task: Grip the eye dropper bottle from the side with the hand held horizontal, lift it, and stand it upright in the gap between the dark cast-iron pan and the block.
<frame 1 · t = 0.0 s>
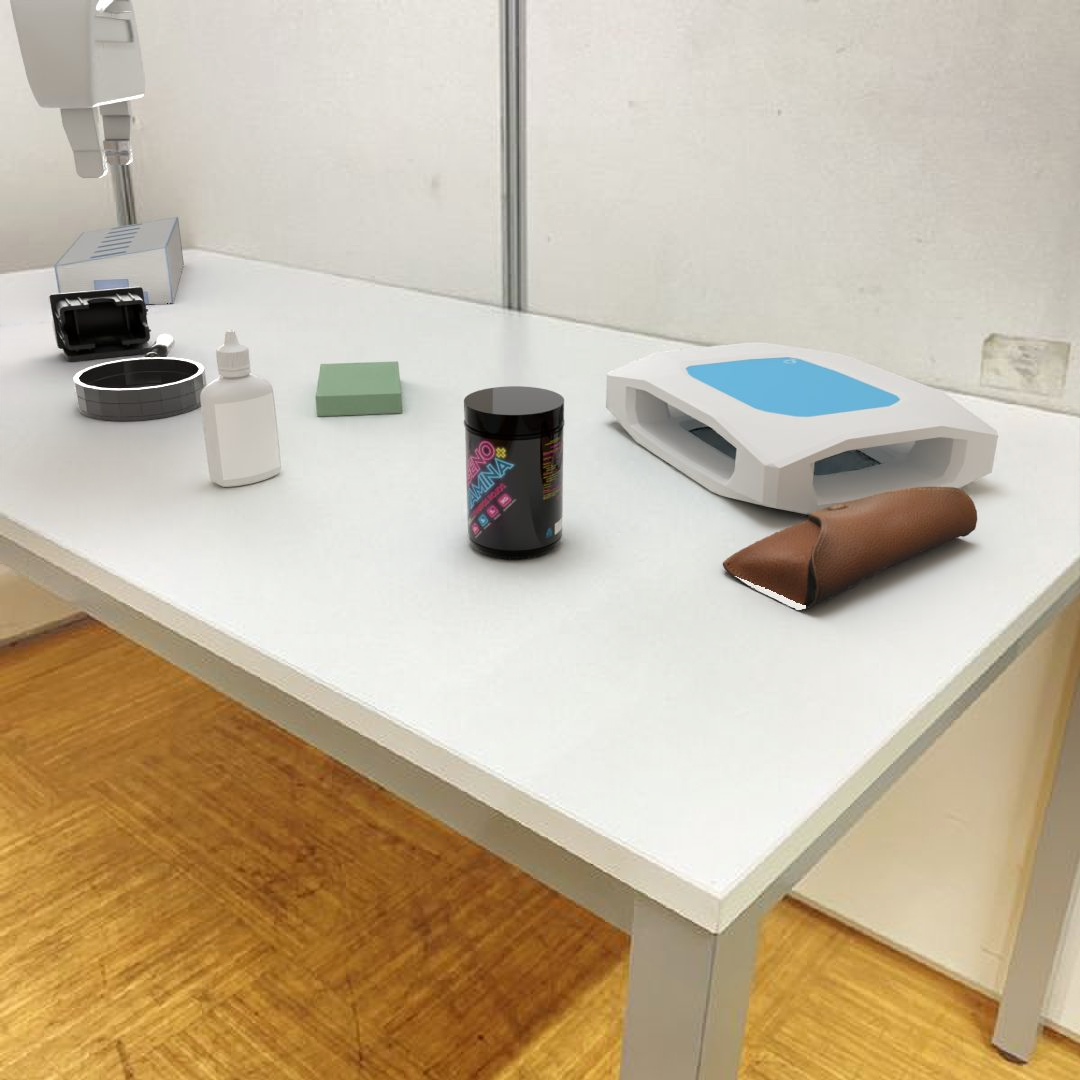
hand: (107, 170, 82), 24 cm above the table, tool pointing down, fingers open, 8 cm apart
sunglasses case: (848, 561, 77), on the table
eye dropper bottle: (246, 480, 91), on the table
pan: (144, 402, 111), on the table
supplement container: (515, 545, 79), on the table
end cap: (106, 352, 130), on the table
block: (360, 397, 112), on the table
warehouse: (128, 286, 165), on the table
white step platform: (781, 455, 97), on the table
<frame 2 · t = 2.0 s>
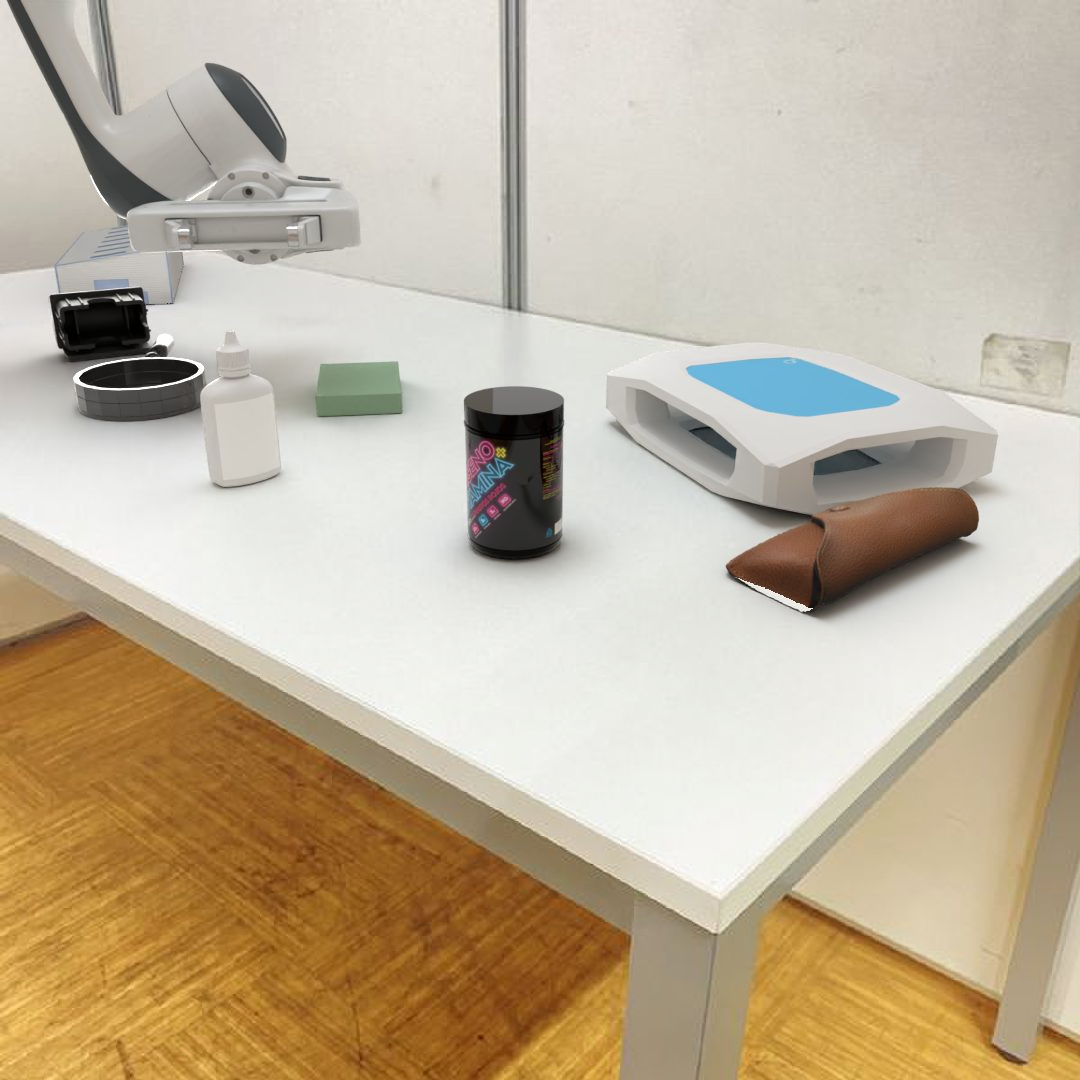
hand: (238, 238, 95), 17 cm above the table, tool horizontal, fingers open, 8 cm apart
nothing on the table moved.
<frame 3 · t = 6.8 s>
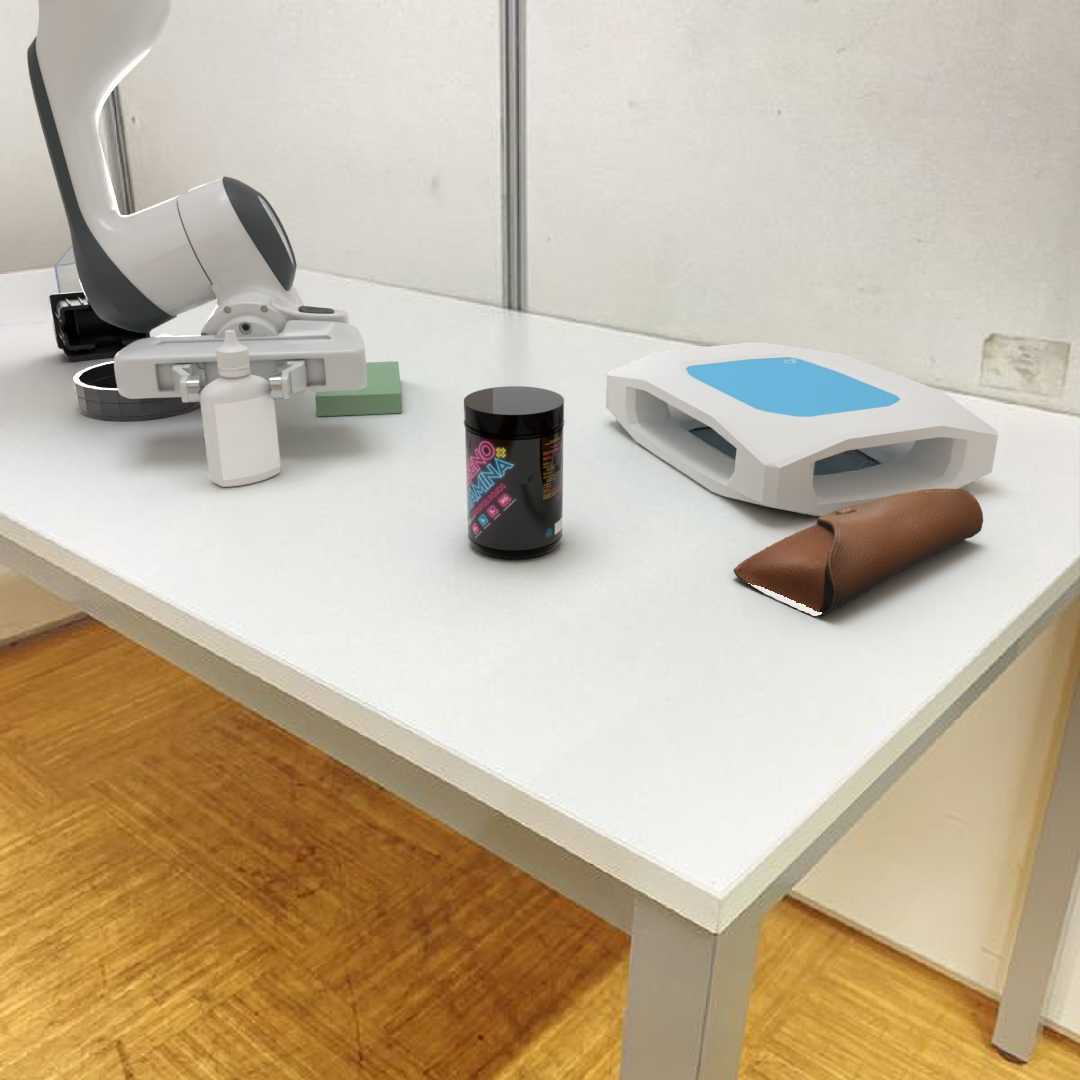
hand: (235, 390, 88), 8 cm above the table, tool horizontal, fingers closed on eye dropper bottle, 5 cm apart
eye dropper bottle: (246, 480, 91), on the table, touching gripper
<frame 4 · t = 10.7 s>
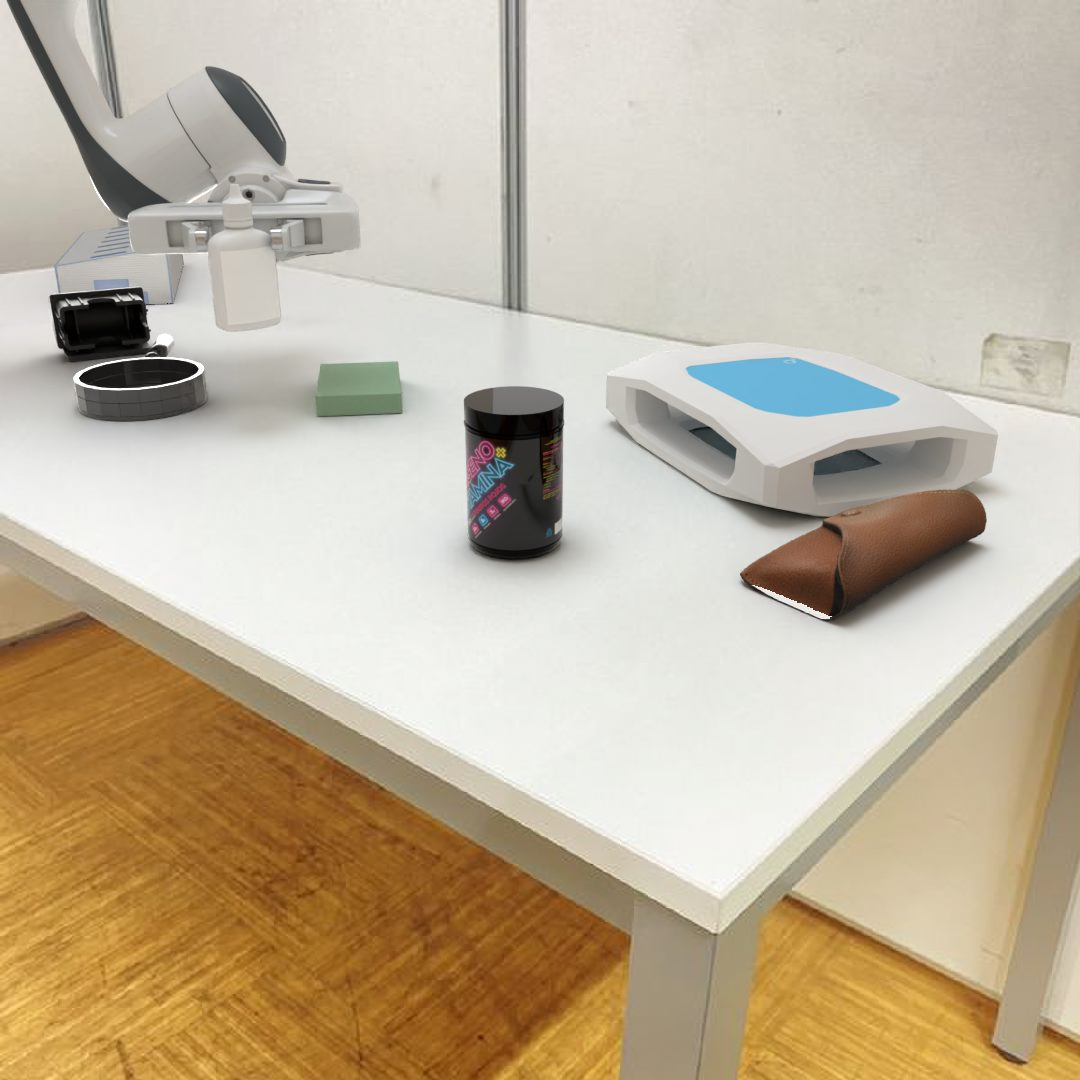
hand: (239, 240, 96), 17 cm above the table, tool horizontal, fingers closed on eye dropper bottle, 5 cm apart
eye dropper bottle: (249, 328, 100), point 9 cm above the table, touching gripper
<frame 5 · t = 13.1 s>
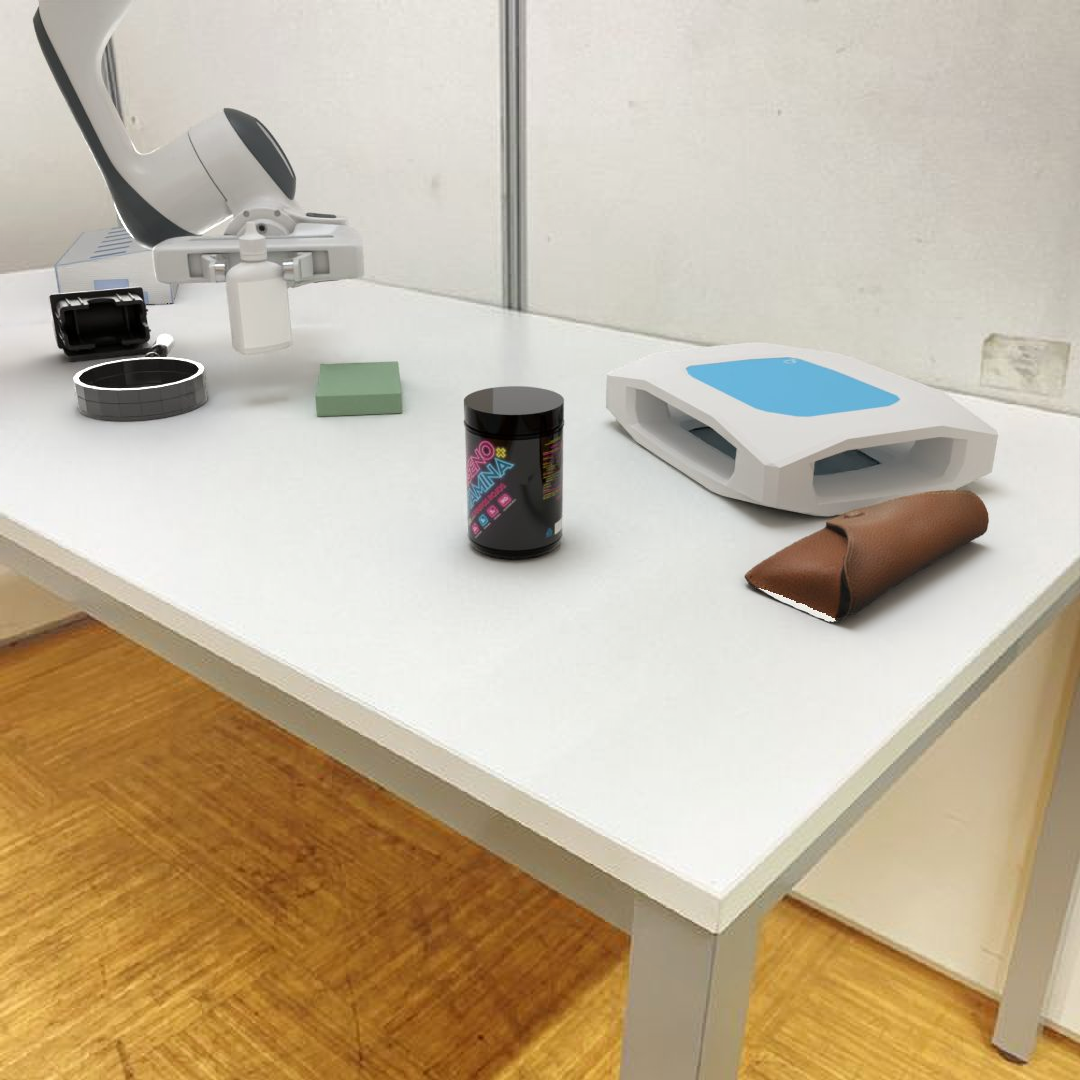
hand: (254, 272, 106), 13 cm above the table, tool horizontal, fingers closed on eye dropper bottle, 5 cm apart
eye dropper bottle: (263, 351, 109), point 5 cm above the table, touching gripper
when the fingers open (8 cm above the table, at t = 15.0 s): eye dropper bottle stays where it is, on the table.
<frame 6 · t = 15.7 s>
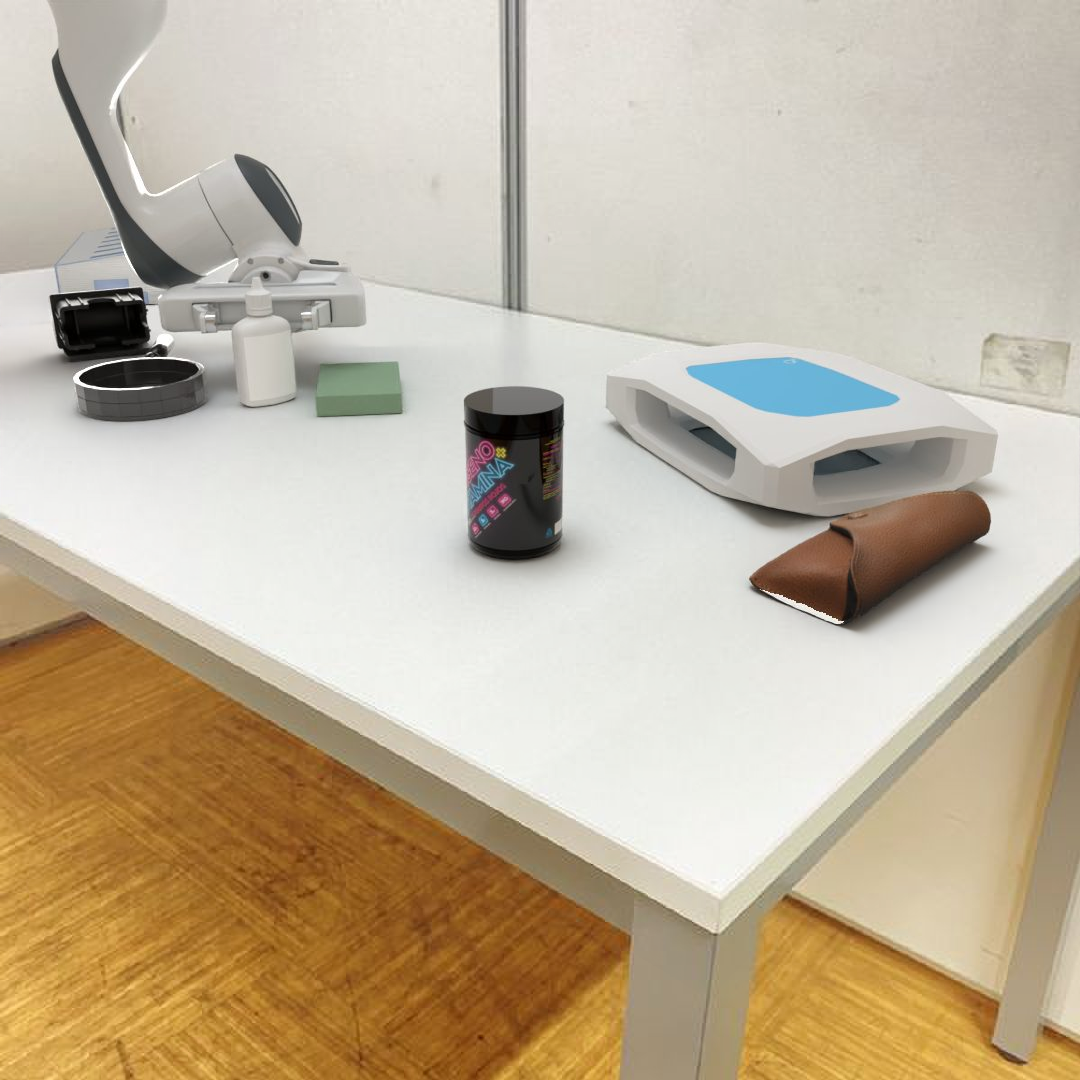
hand: (258, 323, 107), 8 cm above the table, tool horizontal, fingers open, 8 cm apart
eye dropper bottle: (268, 402, 111), on the table
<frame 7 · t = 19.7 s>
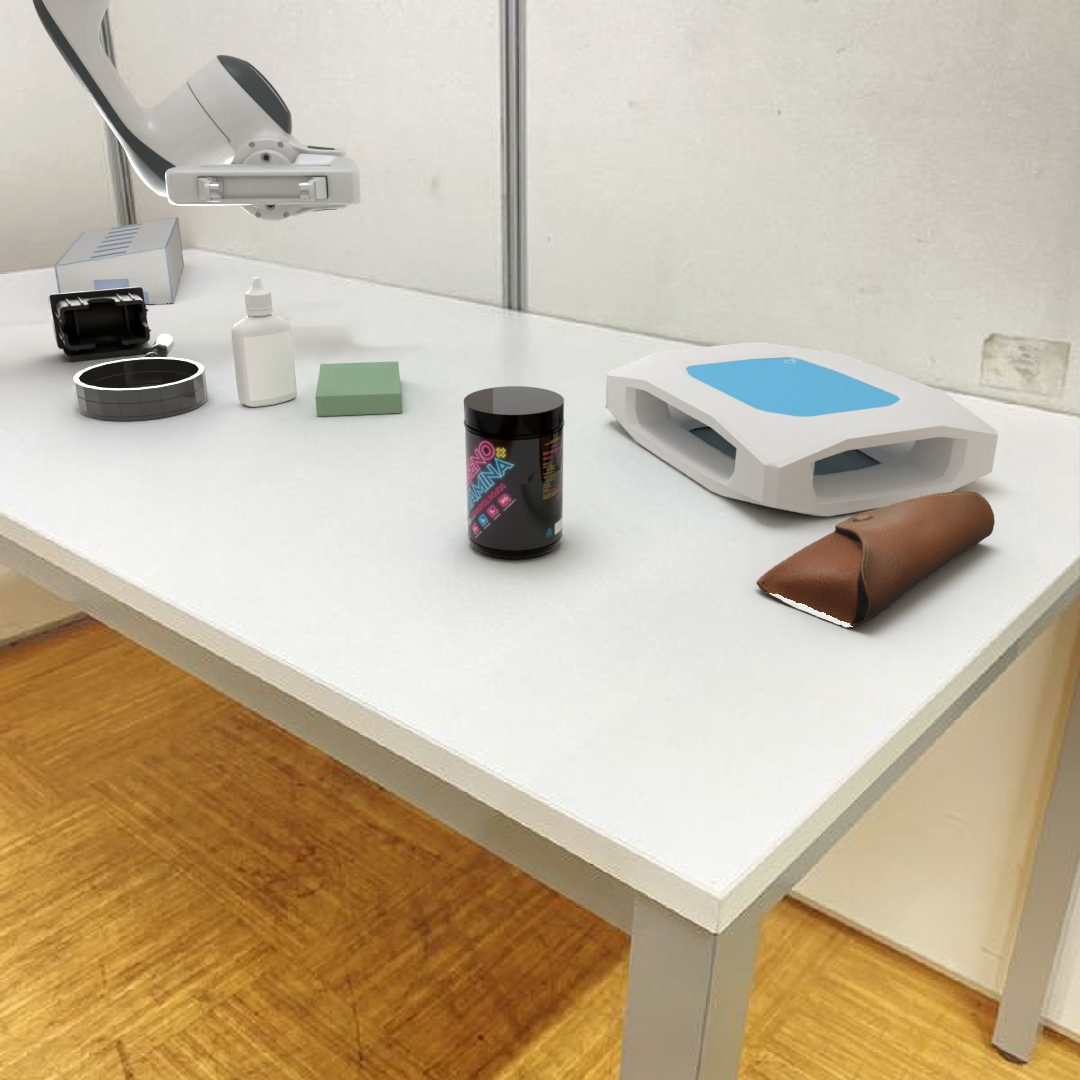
hand: (259, 192, 115), 18 cm above the table, tool horizontal, fingers open, 8 cm apart
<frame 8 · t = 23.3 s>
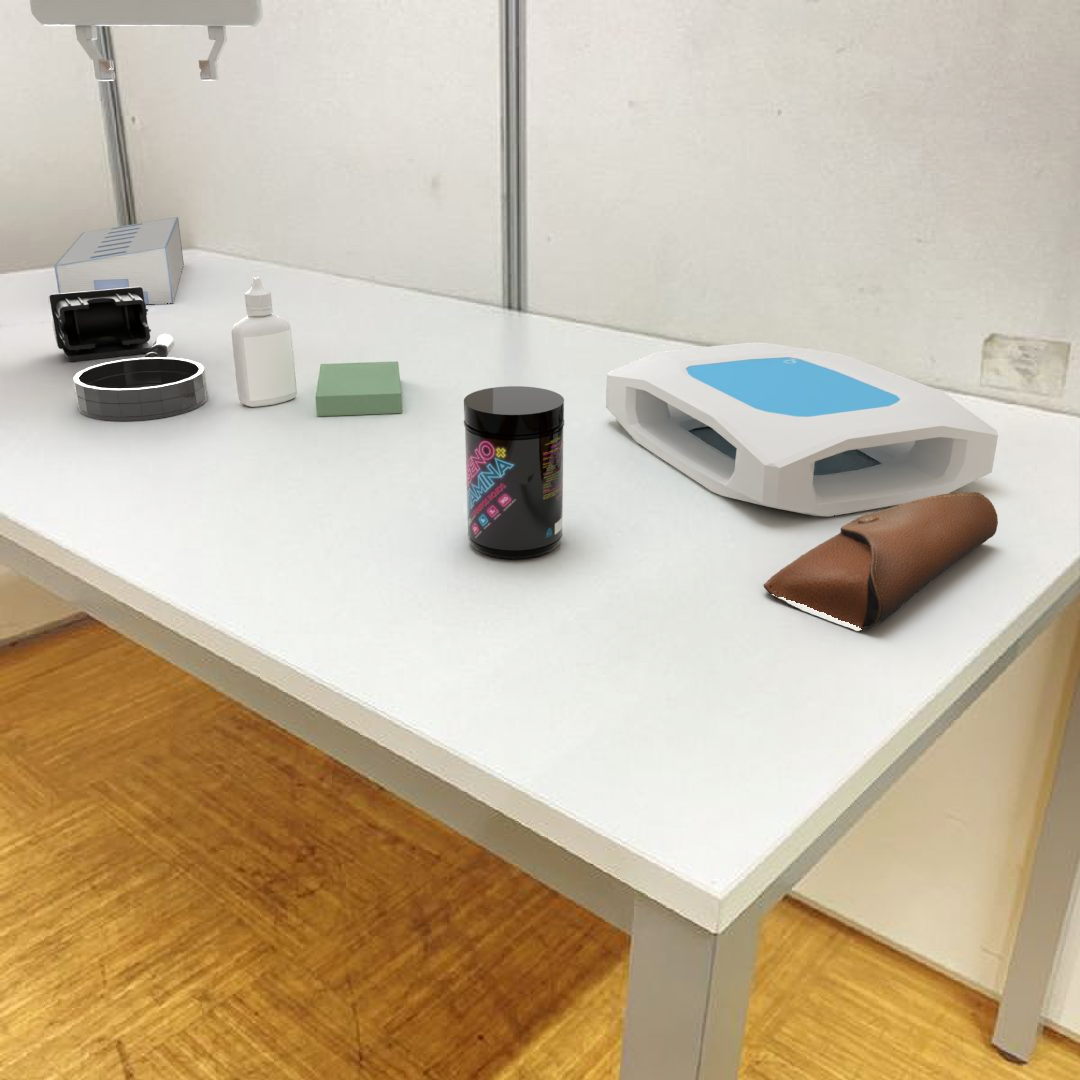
hand: (158, 80, 106), 29 cm above the table, tool pointing down, fingers open, 8 cm apart
at the end: eye dropper bottle 0.2 cm from the target spot on the table beside the pan, on the table; eye dropper bottle tilted 0°; the gripper is holding nothing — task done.
